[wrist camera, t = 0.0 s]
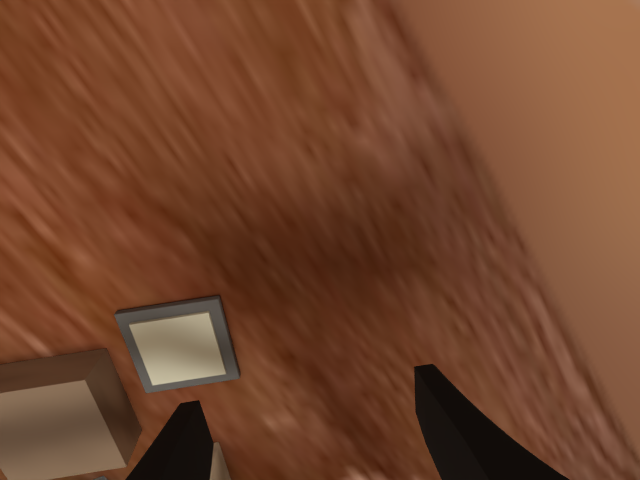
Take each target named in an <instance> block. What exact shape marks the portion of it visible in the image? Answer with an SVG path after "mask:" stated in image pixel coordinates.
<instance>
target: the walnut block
mask: <svg viewBox="0 0 640 480" xmlns="http://www.w3.org/2000/svg"><path fill="white" fill-rule="evenodd" d="M141 431H142V429H141V427H140V424H139V422H138V420H137V417H136V415H135V413H134V411H133V408H132V406H131V404H130V401H129V399H128V397H127V394H126V392H125V390H124V388H123V385H122V383H121V381H120V378H119V376H118V374H117V371H116V369H115V367H114V365H113V362H112V360H111V358H110V355H109V353H108V351H107V348H105V349H99V350H92V351H86V352H79V353H73V354H66V355H59V356H53V357H46V358H40V359H33V360H27V361H20V362H14V363H7V364H0V469H1V470H2V471H3V473H4V474H5V476H6V477H7V479H8V480H48V479H54V478H61V477H67V476H73V475H79V474H85V473H91V472H98V471H104V470H110V469H116V468H122V467H127V465H128V462H129V460H130V458H131V455H132V453H133V450H134V448H135V446H136V443H137V441H138V438H139V436H140V434H141Z"/></svg>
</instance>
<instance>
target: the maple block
mask: <svg viewBox="0 0 640 480" xmlns="http://www.w3.org/2000/svg"><path fill="white" fill-rule="evenodd" d="M210 480H231V478H230V475H229V472H228V469H227V466H226V463H225V460H224V457H223V453H222V450H221V447H220V444H219V442H215V443H214V446H213V456H212V466H211V474H210Z"/></svg>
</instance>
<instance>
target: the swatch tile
mask: <svg viewBox="0 0 640 480" xmlns="http://www.w3.org/2000/svg"><path fill="white" fill-rule="evenodd" d="M114 316H115V318H116V321H117V323H118V325H119V328H120V330H121V333H122V335H123V338H124V340H125V343H126V345H127V348H128V350H129V353H130V355H131V357H132V360H133V362H134V365H135V367H136V370H137V372H138V375H139V377H140V380H141V382H142V384H143V387H144V389H145V392H146V393H150V392H157V391H163V390H170V389H176V388H182V387H189V386H195V385H202V384H208V383H214V382H221V381H227V380H234V379H240V371H239V367H238V363H237V359H236V356H235V352H234V348H233V344H232V341H231V337H230V333H229V329H228V326H227V322H226V318H225V314H224V311H223V307H222V303H221V300H220V296H212V297H206V298H199V299H192V300H186V301H179V302H172V303H166V304H159V305H152V306H146V307H139V308H132V309H126V310H119V311H116V313H115V314H114Z"/></svg>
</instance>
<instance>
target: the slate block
mask: <svg viewBox="0 0 640 480" xmlns="http://www.w3.org/2000/svg"><path fill="white" fill-rule="evenodd" d="M94 480H107V479H106V478H105V477H104V476H102V477H99V478H96V479H94Z"/></svg>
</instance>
